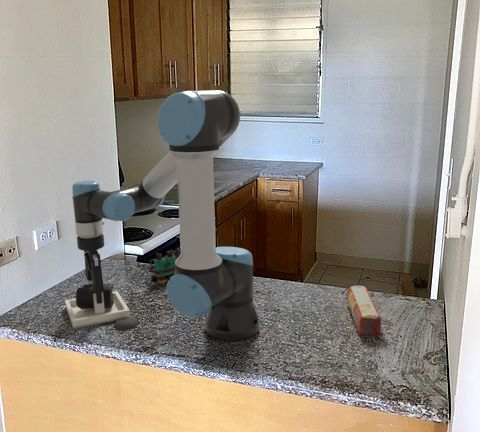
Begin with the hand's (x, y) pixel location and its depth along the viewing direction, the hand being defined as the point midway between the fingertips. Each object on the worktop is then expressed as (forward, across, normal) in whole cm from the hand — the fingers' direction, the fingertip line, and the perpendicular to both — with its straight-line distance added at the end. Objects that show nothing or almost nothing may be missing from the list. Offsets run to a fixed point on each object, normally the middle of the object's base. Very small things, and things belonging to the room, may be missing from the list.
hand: (96, 306), depth 157 cm
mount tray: (+2, 0, 0) cm, 2 cm away
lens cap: (+2, -12, -6) cm, 14 cm away
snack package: (+2, -40, -68) cm, 79 cm away
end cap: (+1, 0, 0) cm, 1 cm away
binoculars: (+2, +18, -26) cm, 32 cm away
